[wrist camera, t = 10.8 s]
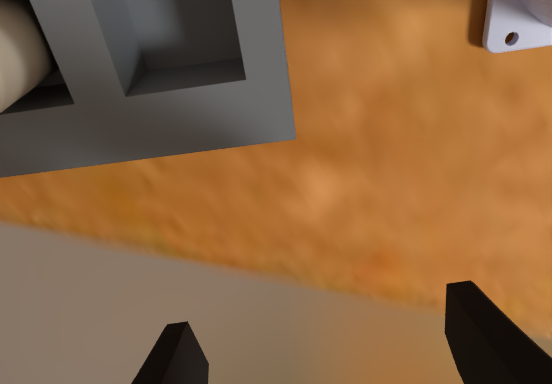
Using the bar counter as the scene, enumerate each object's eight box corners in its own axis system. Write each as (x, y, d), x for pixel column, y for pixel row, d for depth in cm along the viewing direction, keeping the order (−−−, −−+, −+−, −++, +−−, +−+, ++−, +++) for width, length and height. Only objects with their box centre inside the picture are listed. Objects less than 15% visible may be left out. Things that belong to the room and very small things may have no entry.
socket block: (259, -164, 13) (254, -196, 10) (291, 99, 18) (296, 139, 15) (-109, -96, 14) (-230, -104, 11) (17, 137, 19) (-38, 182, 15)
